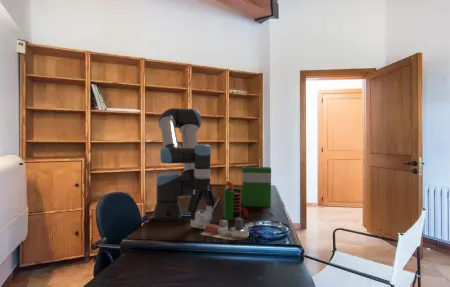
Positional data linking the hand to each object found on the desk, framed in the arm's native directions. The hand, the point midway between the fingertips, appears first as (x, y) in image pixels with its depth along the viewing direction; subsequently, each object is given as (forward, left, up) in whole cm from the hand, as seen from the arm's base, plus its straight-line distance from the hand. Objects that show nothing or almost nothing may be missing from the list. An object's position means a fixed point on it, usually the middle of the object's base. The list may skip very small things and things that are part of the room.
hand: (201, 222), depth 138 cm
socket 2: (+11, +1, -2) cm, 11 cm away
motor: (+6, +21, -3) cm, 22 cm away
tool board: (+17, -3, -3) cm, 17 cm away
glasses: (+12, +38, -3) cm, 40 cm away
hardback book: (+5, +59, -3) cm, 59 cm away
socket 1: (0, 0, -3) cm, 3 cm away
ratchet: (+15, -4, -2) cm, 16 cm away
